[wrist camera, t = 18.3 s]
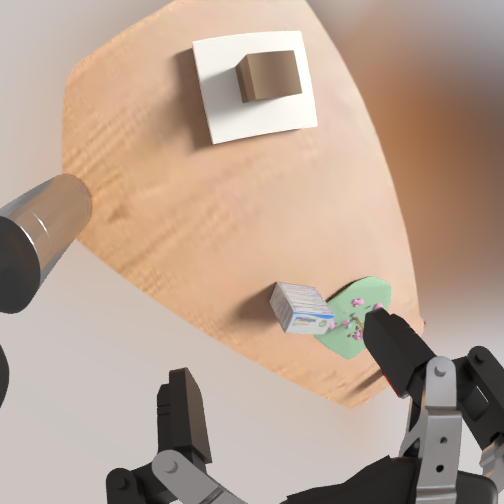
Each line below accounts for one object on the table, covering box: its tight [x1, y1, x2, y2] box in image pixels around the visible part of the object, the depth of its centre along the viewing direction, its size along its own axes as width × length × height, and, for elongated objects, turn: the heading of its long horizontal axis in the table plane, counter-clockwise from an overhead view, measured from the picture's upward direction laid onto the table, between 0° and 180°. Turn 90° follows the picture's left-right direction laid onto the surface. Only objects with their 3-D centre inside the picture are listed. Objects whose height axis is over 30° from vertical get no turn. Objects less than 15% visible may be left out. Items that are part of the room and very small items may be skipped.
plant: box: [314, 277, 391, 359], centre depth 54 cm, size 25×21×9 cm
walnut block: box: [235, 50, 302, 103], centre depth 26 cm, size 5×5×7 cm
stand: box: [192, 31, 318, 144], centre depth 30 cm, size 14×14×3 cm
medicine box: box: [269, 282, 335, 335], centre depth 45 cm, size 8×4×9 cm, turn 72°
